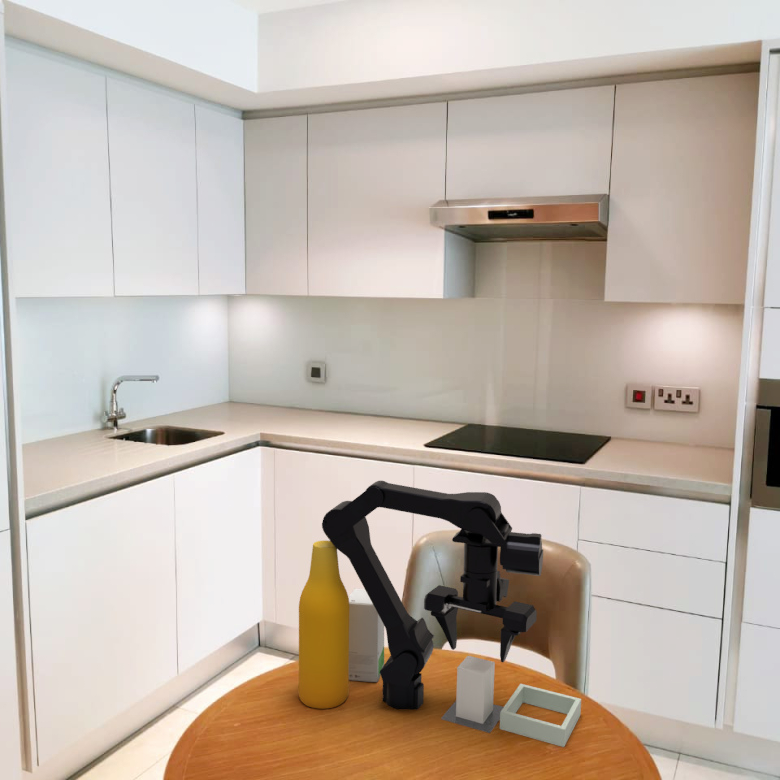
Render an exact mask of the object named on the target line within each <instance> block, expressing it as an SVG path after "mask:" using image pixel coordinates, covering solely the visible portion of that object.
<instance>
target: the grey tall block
mask: <svg viewBox="0 0 780 780" xmlns="http://www.w3.org/2000/svg"><path fill="white" fill-rule="evenodd" d="M495 664H496V661H492V660H488V659H483V658H480V657H475V656H471V655H467V656H466V657H465V658H464V659H463V661H462V662H460V664H459V665H458V666H457V667H456V672H457V673H456V694H455V695H456V697H455V698H456V699H455V701H456V716H457V717H460V718H464V719H467V720H471V721H474V722H478V723H481V724H483V723H484V722H485V721H486V719H487V718H488V716H489V715H490V714H491V712H492V711H493V704H494V695H495V694H494V693H495V692H494V691H495V687H494V686H495V669H496V668H495Z"/></svg>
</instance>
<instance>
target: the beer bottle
mask: <svg viewBox="0 0 780 780" xmlns="http://www.w3.org/2000/svg"><path fill="white" fill-rule="evenodd" d="M311 551H312V552H311V559H310V567H309V575H308V578H307V581H306V583H305V585H304V587H303V589H302V590H301V593H300V597H299V603H298V684H297V685H298V686H297V692H298V696H299V701H301V703H303V704H304V705H305V706H307V707H309V708H312V709H321V710H324V709H325V710H326V709H333V708H336V707H338V706H340V705H342V704H344V702H345V701H346V700H347V698H348V696H349V692H350V691H349V690H350V682H349V681H350V680H349V610H350V607H349V595H348V592H347V589H346V587H345V584H344V583H343V580H342V578H341V575H340V568H339V558H338V557H339V556H338V549H337V548H335V547H334V545H333V544H332V543H331V541H330V540H318V541H315V542H313V543H312V550H311Z"/></svg>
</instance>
